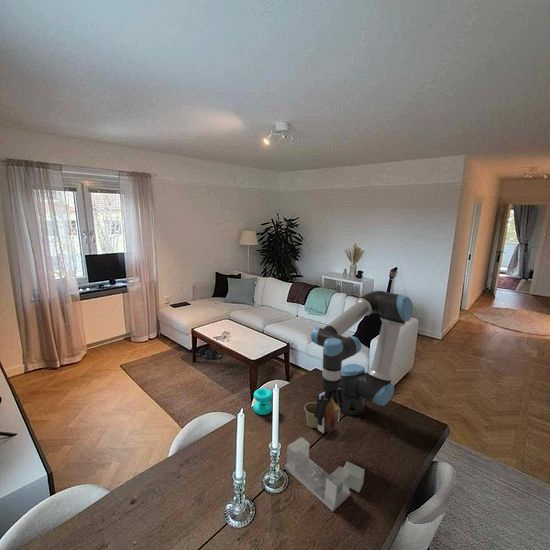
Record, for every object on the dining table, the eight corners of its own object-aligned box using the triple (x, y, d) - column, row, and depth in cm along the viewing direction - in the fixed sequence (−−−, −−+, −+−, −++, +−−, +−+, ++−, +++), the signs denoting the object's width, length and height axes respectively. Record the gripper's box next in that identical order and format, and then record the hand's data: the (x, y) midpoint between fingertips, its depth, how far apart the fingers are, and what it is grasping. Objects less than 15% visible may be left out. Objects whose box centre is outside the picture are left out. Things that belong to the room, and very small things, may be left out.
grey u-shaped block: (301, 455, 128) (302, 435, 127) (350, 495, 110) (352, 473, 109) (284, 467, 122) (284, 446, 120) (333, 512, 104) (335, 488, 102)
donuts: (269, 399, 150) (250, 395, 153) (268, 418, 152) (250, 413, 155) (275, 389, 159) (257, 385, 162) (275, 406, 161) (257, 402, 164)
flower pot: (322, 432, 143) (324, 415, 141) (302, 429, 144) (303, 412, 143) (323, 419, 152) (324, 403, 151) (304, 416, 154) (305, 401, 152)
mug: (318, 418, 135) (319, 397, 133) (338, 421, 133) (339, 400, 131) (316, 437, 123) (317, 415, 121) (338, 441, 121) (339, 418, 119)
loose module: (345, 474, 120) (346, 461, 118) (363, 483, 116) (364, 469, 115) (340, 483, 115) (342, 469, 114) (359, 492, 112) (360, 478, 111)
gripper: (340, 364, 133) (337, 410, 138) (306, 382, 119) (304, 432, 123) (354, 371, 128) (351, 418, 132) (320, 390, 114) (318, 443, 118)
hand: (328, 425), depth 128 cm, fingers closed on mug, 9 cm apart
